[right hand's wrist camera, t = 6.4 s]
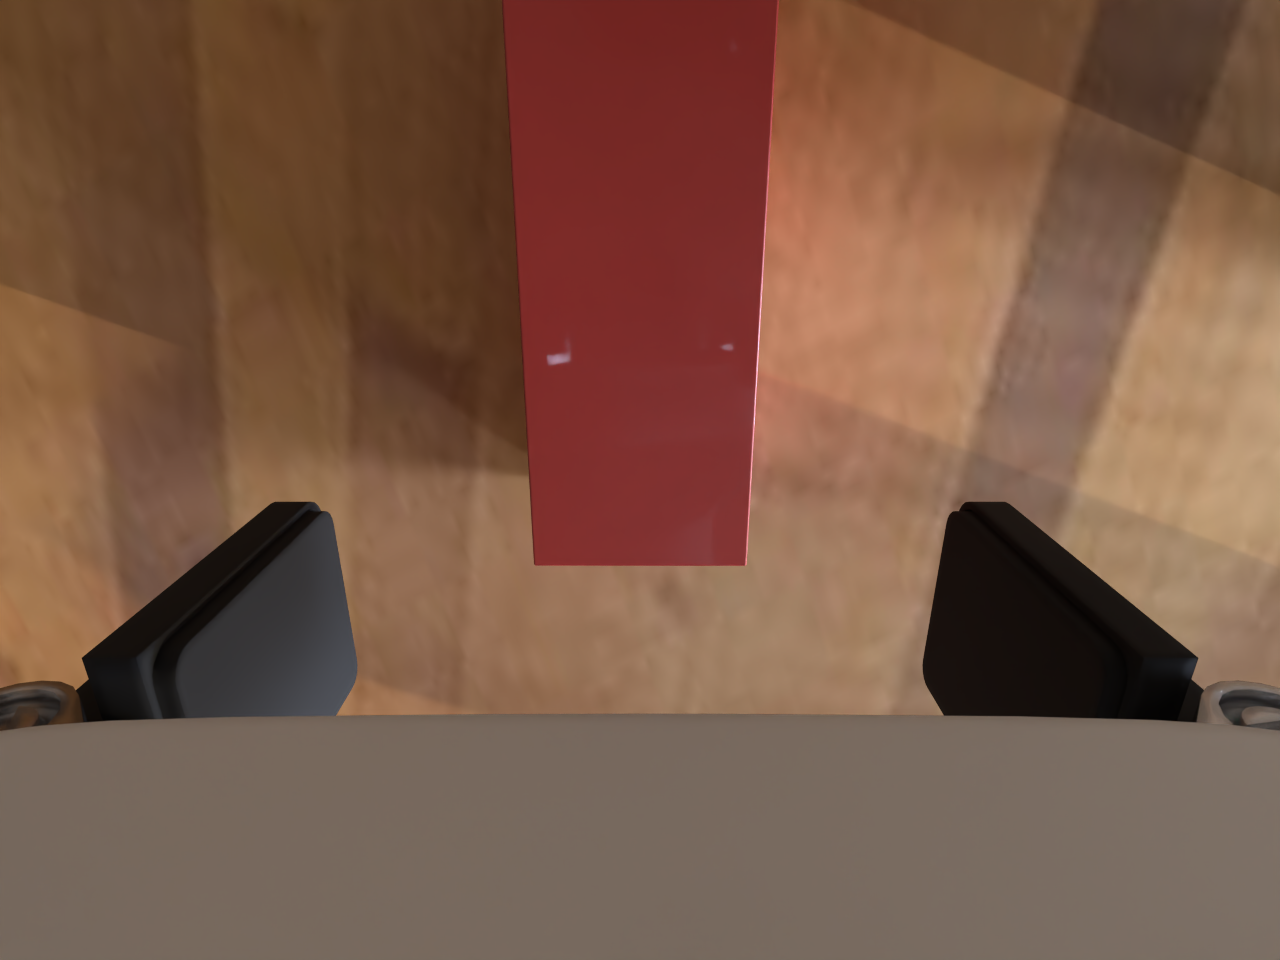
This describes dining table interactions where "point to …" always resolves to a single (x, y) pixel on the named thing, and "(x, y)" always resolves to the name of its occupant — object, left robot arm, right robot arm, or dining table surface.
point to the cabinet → (640, 270)
